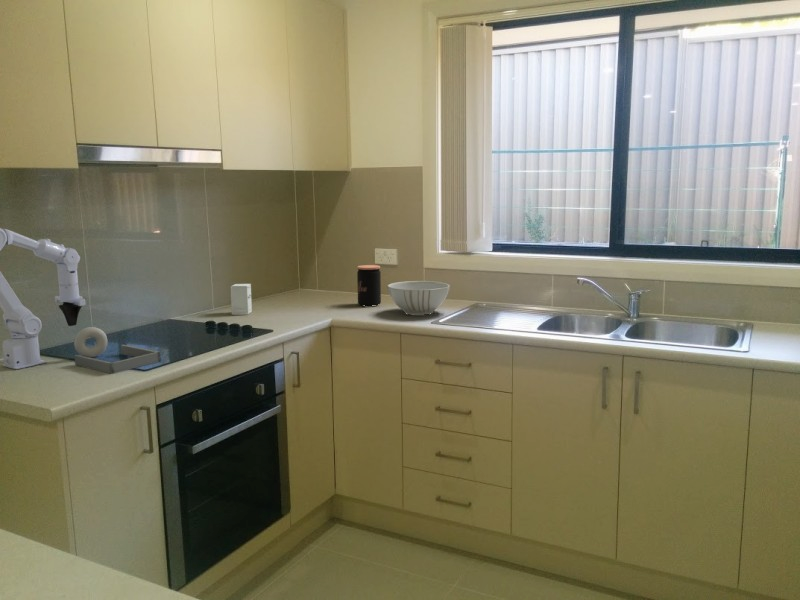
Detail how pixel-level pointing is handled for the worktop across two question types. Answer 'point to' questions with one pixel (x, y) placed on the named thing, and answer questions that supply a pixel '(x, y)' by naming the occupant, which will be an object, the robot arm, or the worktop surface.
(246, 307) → the supplement box
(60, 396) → the worktop surface
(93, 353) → the donut
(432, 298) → the decorative bowl
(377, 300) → the coffee jar
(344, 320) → the worktop surface
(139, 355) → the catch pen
